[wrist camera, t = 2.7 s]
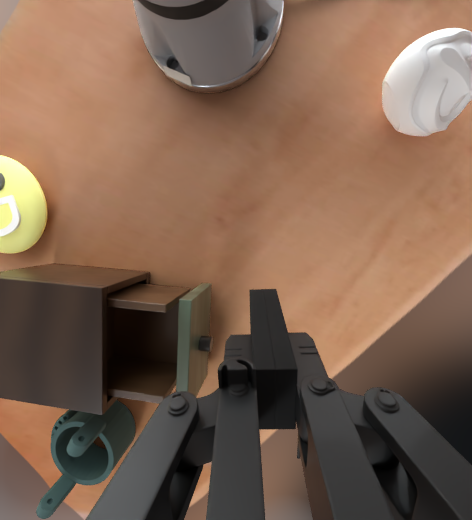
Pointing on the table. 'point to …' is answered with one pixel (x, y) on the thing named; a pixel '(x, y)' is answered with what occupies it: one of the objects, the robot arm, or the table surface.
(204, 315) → the case drawer
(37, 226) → the emoji
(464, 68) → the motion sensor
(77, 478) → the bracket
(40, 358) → the case
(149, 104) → the table surface
